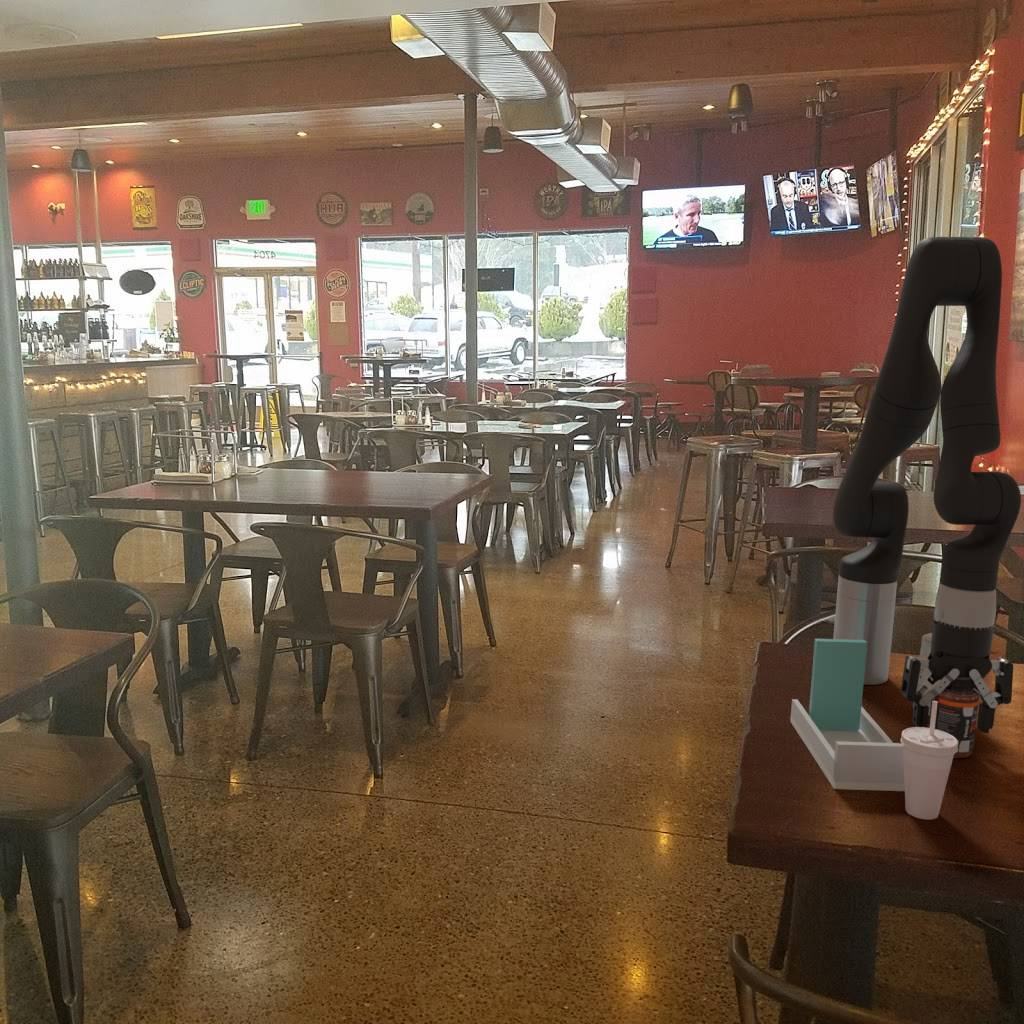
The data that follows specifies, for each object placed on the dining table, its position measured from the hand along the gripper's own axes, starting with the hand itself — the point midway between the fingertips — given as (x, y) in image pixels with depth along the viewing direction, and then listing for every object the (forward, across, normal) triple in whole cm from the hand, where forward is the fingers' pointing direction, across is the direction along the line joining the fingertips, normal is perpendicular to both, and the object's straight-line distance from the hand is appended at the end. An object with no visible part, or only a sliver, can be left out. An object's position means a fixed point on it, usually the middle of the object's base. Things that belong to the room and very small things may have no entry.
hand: (951, 730), depth 138 cm
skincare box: (+3, -4, -14) cm, 15 cm away
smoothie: (+3, +11, +18) cm, 22 cm away
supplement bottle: (+3, 0, 0) cm, 3 cm away
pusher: (+2, +15, -4) cm, 16 cm away
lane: (+3, +15, +2) cm, 15 cm away
